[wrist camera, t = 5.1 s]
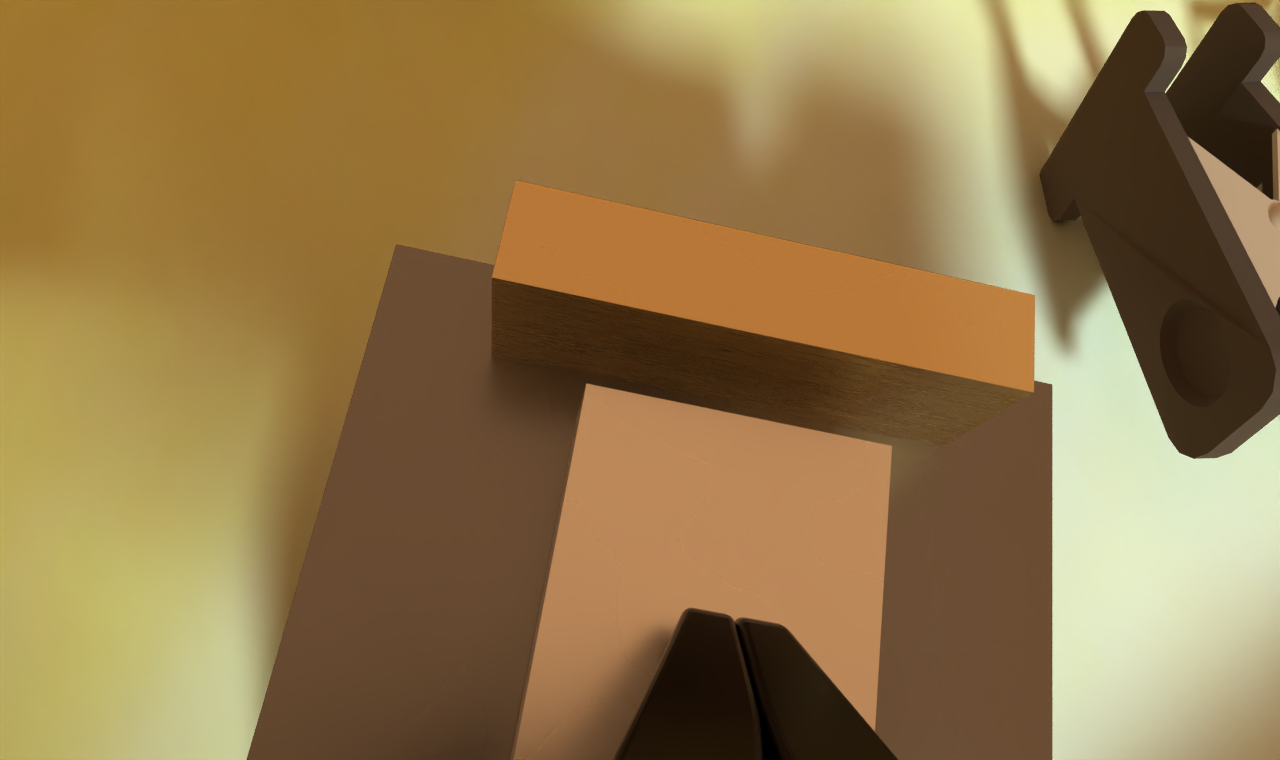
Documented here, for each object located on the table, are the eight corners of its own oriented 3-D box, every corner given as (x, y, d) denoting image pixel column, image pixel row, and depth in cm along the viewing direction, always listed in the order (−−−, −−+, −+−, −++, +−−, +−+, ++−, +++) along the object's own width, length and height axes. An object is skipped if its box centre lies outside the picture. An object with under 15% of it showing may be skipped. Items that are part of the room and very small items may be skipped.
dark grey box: (810, 1123, 13) (1216, 1635, 6) (267, 1048, 12) (-48, 1514, 5) (858, 499, 16) (1157, 322, 9) (429, 413, 16) (377, 149, 8)
